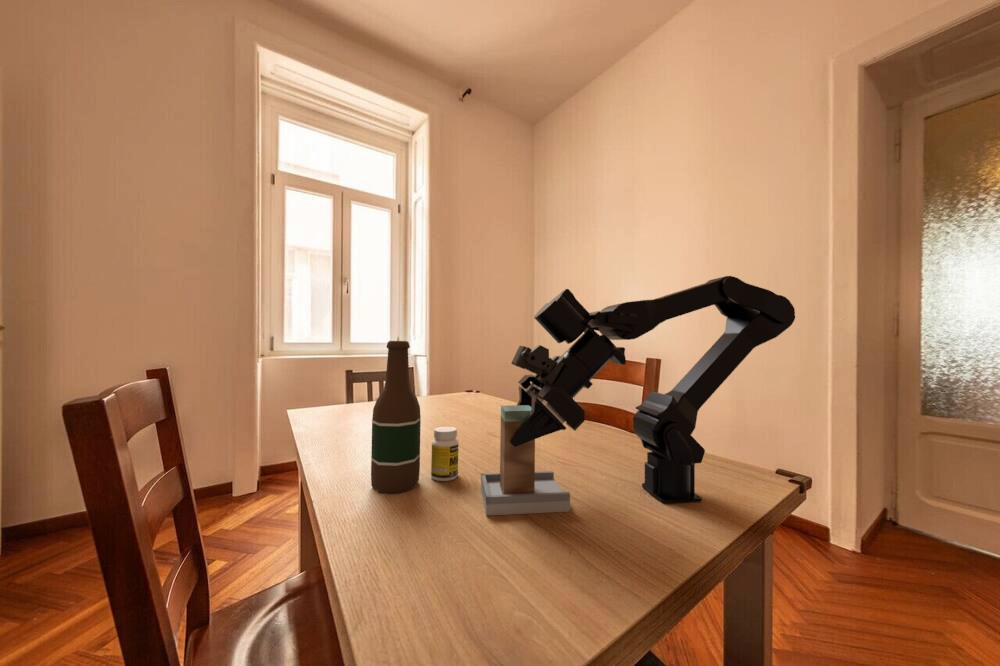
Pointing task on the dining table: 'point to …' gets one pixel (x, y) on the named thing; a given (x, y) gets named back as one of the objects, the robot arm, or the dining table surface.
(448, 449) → the supplement bottle
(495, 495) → the tray
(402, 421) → the beer bottle
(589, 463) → the dining table surface
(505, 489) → the green-topped wooden block
